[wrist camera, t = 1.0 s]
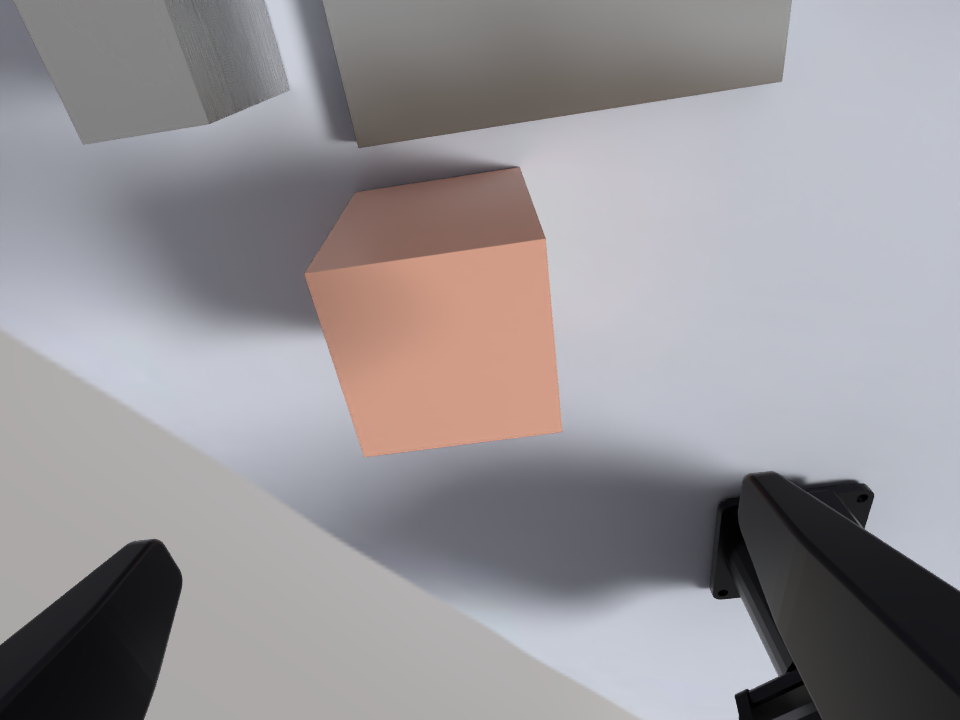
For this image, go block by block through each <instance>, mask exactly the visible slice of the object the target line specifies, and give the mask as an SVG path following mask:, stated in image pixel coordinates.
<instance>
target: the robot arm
mask: <svg viewBox="0 0 960 720" xmlns="http://www.w3.org/2000/svg"><path fill="white" fill-rule="evenodd" d="M873 499H874V493H873V492H872V491H871V489H870V488H869V487H868V486H867V485H866V484H860V483H859V484H850V485H842V486H833V487H825V488H817V489H808V490H803V489H801V488H800V487H798V486H797V485H795V484H794V483H792V482H791V481H789V480H788V479H786V478H784V477H783V476H781V475H780V474H778V473H776V472H772V471H768V472H758V473H749V474H747V475H746V476H745V477H744V478H743V482H742V488H741V495H740V498H732V499H727V500H725V501H723V502H721V504H720V505H719V507H718V512H717V522H716V531H715V541H714V550H713V560H712V569H711V579H710V590H711V593H712V595H713V597H714V598H716V599H731V598H740V597H741V598H742V601H743V603H744V605H745V607H746V609H747V611H748V613H749V615H750V617H751V619H752V622H753V624H754V626H755V628H756V630H757V632H758V634H759V636H760V638H761V641H762V643H763V645H764V647H765V649H766V651H767V653H768V655H769V657H770V659H771V662H772V664H773V666H774V668H775V670H776V672H777V674H778V676H779V677H777V678H775V679H773V680H770V681H768V682H766V683H764V684H762V685H760V686H758V687H756V688H754V689H752V690H748V689H745V690H743V691H741V692H739V693H737V694H735V700H736V704H737V708H738V713H739V720H960V591H959V590H957V589H956V588H954V587H953V586H951V585H950V584H948V583H947V582H945V581H944V580H942V579H940V578H939V577H937V576H936V575H934V574H933V573H931V572H930V571H928V570H927V569H925V568H923V567H922V566H920V565H919V564H917V563H916V562H914V561H913V560H911V559H910V558H908V557H906V556H905V555H903V554H902V553H900V552H899V551H897V550H896V549H894V548H893V547H891V546H889V545H888V544H886V543H885V542H883V541H882V540H880V539H879V538H877V537H876V536H874V535H872V534H871V533H869V532H868V531H866V530H865V525H866V522H867V519H868V515H869V512H870V509H871V505H872V502H873ZM181 589H182V575H181V572H180V569H179V568H178V566H177V565H176V563H175V561H174V560H173V558H172V557H171V555H170V553H169V552H168V550H167V548H166V547H165V545H164V544H163V542H161V541H160V540H157V539H149V540H140V541H134V542H131V543H129V544H127V545H126V546H124V547H123V548H122V549H121V550H120V551H118V552H117V553H116V554H114V555H113V556H112V557H111V558H109V559H108V560H107V561H106V562H104V563H103V564H102V565H100V566H99V567H98V568H97V569H95V570H94V571H93V572H92V573H90V574H89V575H88V576H87V577H85V578H84V579H83V580H82V581H80V582H79V583H78V584H77V585H75V586H74V587H73V588H72V589H70V590H69V591H68V592H66V593H65V594H64V595H63V596H61V597H60V598H59V599H58V600H56V601H55V602H54V603H53V604H51V605H50V606H49V607H48V608H46V609H45V610H44V611H43V612H42V613H40V614H39V615H38V616H36V617H35V618H34V619H33V620H31V621H30V622H29V623H28V624H26V625H25V626H24V627H22V628H21V629H20V630H19V631H17V632H16V633H15V634H14V635H12V636H11V637H10V638H9V639H7V640H6V641H5V642H4V643H2V644H1V645H0V720H144V718H145V715H146V713H147V710H148V707H149V704H150V701H151V698H152V696H153V692H154V690H155V687H156V683H157V680H158V677H159V673H160V670H161V666H162V662H163V658H164V654H165V651H166V647H167V643H168V639H169V635H170V631H171V628H172V624H173V620H174V616H175V612H176V608H177V605H178V600H179V597H180V593H181Z"/></svg>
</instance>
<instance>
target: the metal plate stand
mask: <svg viewBox="0 0 960 720" xmlns="http://www.w3.org/2000/svg"><path fill="white" fill-rule="evenodd" d="M322 1H323V5H324V9H325V13H326V17H327V21H328V25H329V29H330V34H331V38H332V42H333V46H334V50H335V54H336V58H337V62H338V66H339V70H340V75H341V79H342V83H343V87H344V91H345V95H346V99H347V103H348V107H349V111H350V116H351V120H352V124H353V128H354V132H355V136H356V140H357V144H358V148H362V147H369V146H375V145H381V144H388V143H394V142H400V141H407V140H413V139H419V138H426V137H432V136H438V135H445V134H451V133H458V132H464V131H470V130H477V129H483V128H489V127H496V126H502V125H508V124H515V123H521V122H528V121H534V120H540V119H547V118H553V117H559V116H566V115H572V114H578V113H585V112H591V111H598V110H604V109H610V108H617V107H623V106H629V105H636V104H642V103H648V102H655V101H661V100H667V99H674V98H680V97H687V96H693V95H699V94H706V93H712V92H718V91H725V90H731V89H737V88H744V87H750V86H757V85H763V84H769V83H776V82H782V77H783V69H784V61H785V53H786V44H787V36H788V28H789V20H790V12H791V3H792V0H322Z"/></svg>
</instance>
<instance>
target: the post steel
mask: <svg viewBox="0 0 960 720" xmlns="http://www.w3.org/2000/svg"><path fill="white" fill-rule="evenodd" d="M13 1H14V3H15V5H16V7H17V9H18V11H19V13H20V15H21V18H22V20H23V22H24V24H25V26H26V28H27V30H28V32H29V34H30V36H31V38H32V40H33V42H34V44H35V46H36V49H37V51H38V53H39V55H40V57H41V59H42V61H43V63H44V65H45V67H46V69H47V71H48V73H49V75H50V77H51V79H52V82H53V84H54V86H55V88H56V90H57V92H58V94H59V96H60V98H61V100H62V102H63V104H64V106H65V108H66V110H67V112H68V115H69V117H70V119H71V121H72V123H73V125H74V127H75V129H76V131H77V133H78V135H79V137H80V139H81V141H82V143H83V144H90V143H96V142H102V141H108V140H114V139H120V138H127V137H133V136H139V135H145V134H151V133H157V132H164V131H170V130H176V129H182V128H188V127H195V126H201V125H207V124H211V123H213V122H215V121H218V120H220V119H223V118H225V117H227V116H230V115H232V114H234V113H237V112H239V111H242V110H244V109H246V108H249V107H251V106H253V105H256V104H258V103H261V102H263V101H265V100H268V99H270V98H272V97H275V96H277V95H280V94H282V93H284V92H287V91H289V90H290V89H289V85H288V82H287V78H286V75H285V71H284V68H283V64H282V61H281V57H280V54H279V51H278V47H277V44H276V40H275V37H274V33H273V30H272V26H271V23H270V19H269V16H268V13H267V9H266V6H265V2H264V0H13Z"/></svg>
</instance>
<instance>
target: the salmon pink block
mask: <svg viewBox="0 0 960 720" xmlns="http://www.w3.org/2000/svg"><path fill="white" fill-rule="evenodd" d="M304 275H305V278H306V281H307V284H308V287H309V290H310V293H311V296H312V299H313V303H314V306H315V309H316V312H317V315H318V318H319V321H320V324H321V327H322V330H323V333H324V336H325V339H326V342H327V345H328V348H329V351H330V354H331V357H332V360H333V363H334V367H335V370H336V373H337V376H338V379H339V382H340V385H341V388H342V391H343V394H344V397H345V400H346V403H347V406H348V409H349V412H350V415H351V418H352V421H353V424H354V427H355V431H356V434H357V437H358V440H359V443H360V446H361V449H362V452H363V455H364V457H369V456H377V455H385V454H393V453H401V452H409V451H416V450H424V449H432V448H440V447H448V446H456V445H464V444H472V443H480V442H488V441H495V440H503V439H511V438H519V437H527V436H535V435H543V434H551V433H559V432H562V423H561V412H560V400H559V388H558V377H557V365H556V354H555V342H554V330H553V319H552V307H551V296H550V284H549V272H548V261H547V249H546V238H545V236H544V233H543V230H542V227H541V225H540V222H539V219H538V216H537V214H536V211H535V208H534V205H533V203H532V200H531V197H530V194H529V192H528V189H527V186H526V183H525V181H524V178H523V175H522V172H521V170H520V167H517V168H510V169H504V170H497V171H490V172H484V173H477V174H471V175H464V176H458V177H451V178H445V179H438V180H432V181H425V182H418V183H412V184H405V185H399V186H392V187H386V188H379V189H373V190H366V191H360V192H355V193H354V195H353V196H352V198H351V200H350V201H349V203H348V204H347V206H346V208H345V209H344V211H343V212H342V214H341V216H340V217H339V219H338V220H337V222H336V224H335V225H334V227H333V228H332V230H331V232H330V233H329V235H328V236H327V238H326V240H325V241H324V243H323V244H322V246H321V248H320V249H319V251H318V252H317V254H316V256H315V257H314V259H313V260H312V262H311V264H310V265H309V267H308V268H307V270H306V272H305V273H304Z"/></svg>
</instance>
